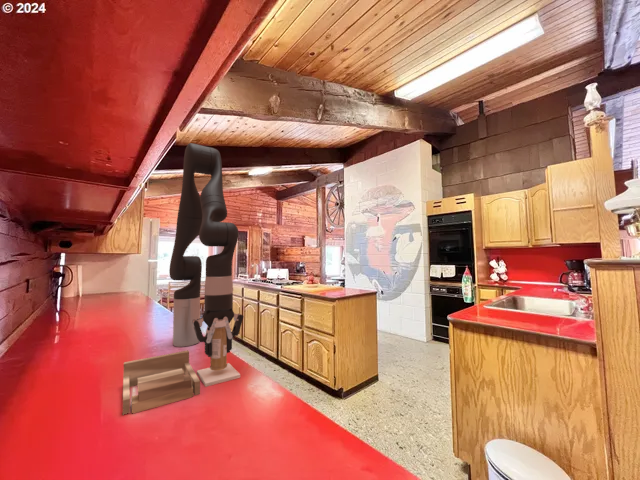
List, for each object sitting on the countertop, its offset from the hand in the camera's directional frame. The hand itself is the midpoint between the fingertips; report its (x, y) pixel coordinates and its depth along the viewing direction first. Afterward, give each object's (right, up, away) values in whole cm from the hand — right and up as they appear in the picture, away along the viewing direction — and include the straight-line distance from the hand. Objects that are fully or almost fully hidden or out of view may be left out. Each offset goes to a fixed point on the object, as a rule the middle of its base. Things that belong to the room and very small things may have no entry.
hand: (218, 353), depth 77 cm
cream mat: (0, -6, 0) cm, 6 cm away
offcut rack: (-11, -6, -9) cm, 15 cm away
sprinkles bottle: (0, -4, 0) cm, 4 cm away
